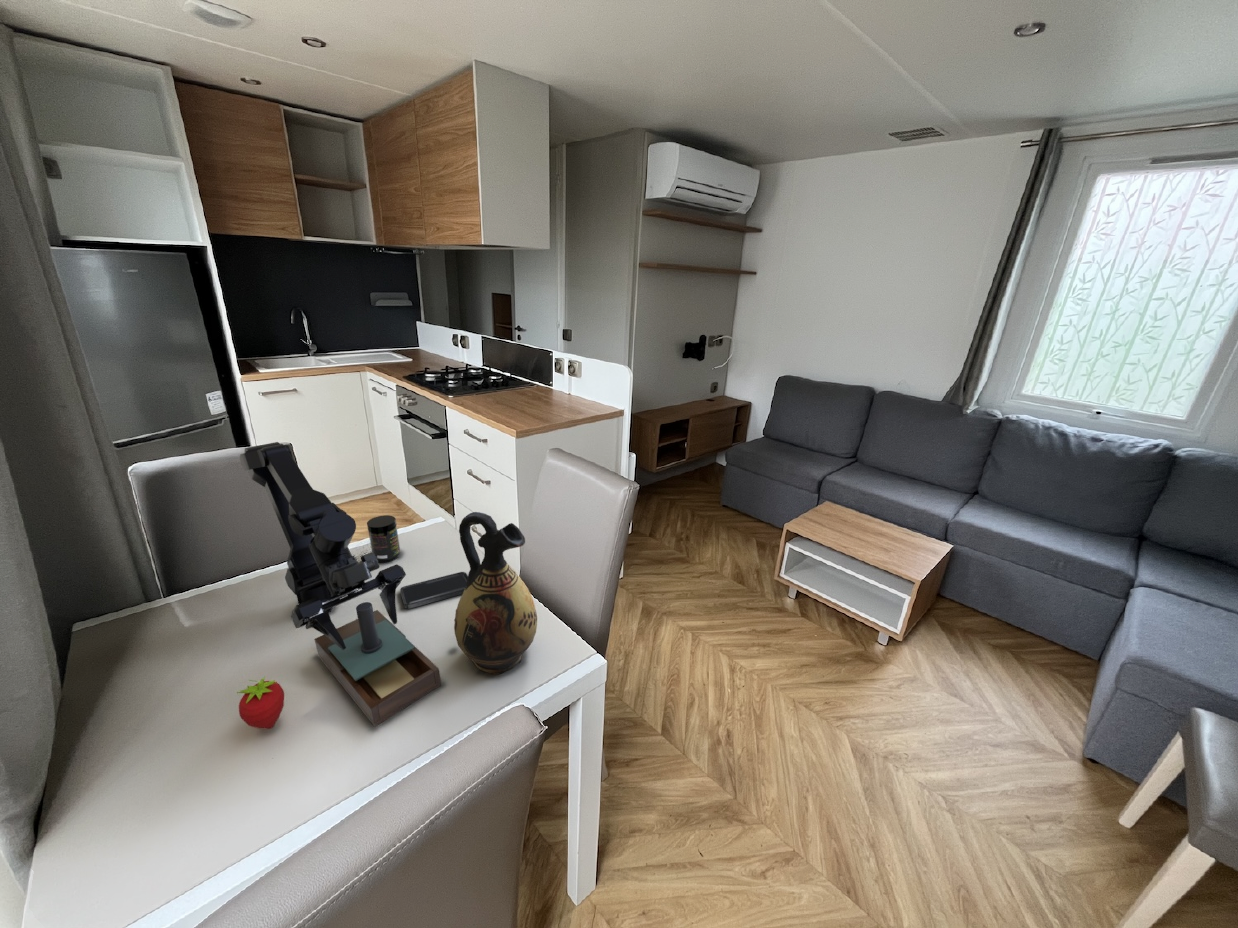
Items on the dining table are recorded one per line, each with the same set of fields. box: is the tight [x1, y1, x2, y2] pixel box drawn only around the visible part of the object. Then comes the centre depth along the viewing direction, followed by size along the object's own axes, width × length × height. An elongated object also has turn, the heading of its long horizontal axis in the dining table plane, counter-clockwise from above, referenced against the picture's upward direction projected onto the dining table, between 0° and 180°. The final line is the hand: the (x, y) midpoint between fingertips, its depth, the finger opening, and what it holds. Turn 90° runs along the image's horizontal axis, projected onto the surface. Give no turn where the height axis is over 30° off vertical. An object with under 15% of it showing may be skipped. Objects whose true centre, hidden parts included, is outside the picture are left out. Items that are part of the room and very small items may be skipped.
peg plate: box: [328, 601, 416, 681], centre depth 89 cm, size 12×11×9 cm
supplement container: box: [366, 514, 402, 563], centre depth 128 cm, size 7×7×10 cm
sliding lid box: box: [314, 609, 442, 727], centre depth 92 cm, size 24×12×4 cm, turn 49°
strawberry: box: [236, 676, 285, 730], centre depth 78 cm, size 6×8×10 cm
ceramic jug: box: [453, 511, 538, 675], centre depth 92 cm, size 17×15×30 cm
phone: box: [399, 571, 468, 609], centre depth 115 cm, size 8×1×15 cm
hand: (371, 635), depth 90 cm, fingers open, 9 cm apart
